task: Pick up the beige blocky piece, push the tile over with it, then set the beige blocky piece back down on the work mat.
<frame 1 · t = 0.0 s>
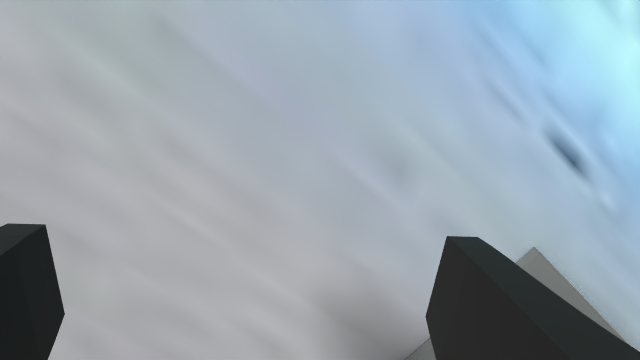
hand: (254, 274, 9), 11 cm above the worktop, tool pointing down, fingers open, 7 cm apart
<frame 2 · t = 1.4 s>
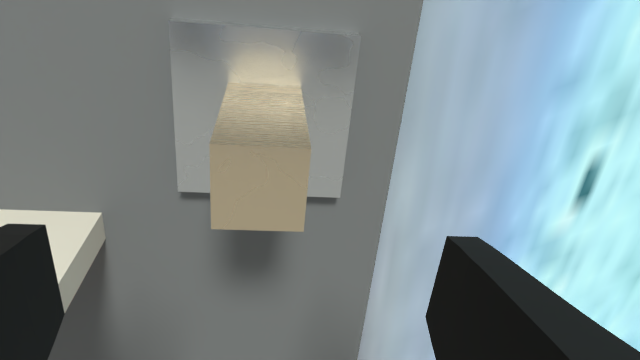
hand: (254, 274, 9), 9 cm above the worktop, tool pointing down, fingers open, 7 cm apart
beige blocky piece: (263, 112, 17), resting on work mat
work mat: (131, 198, 18), on the worktop
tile: (21, 223, 18), resting on work mat
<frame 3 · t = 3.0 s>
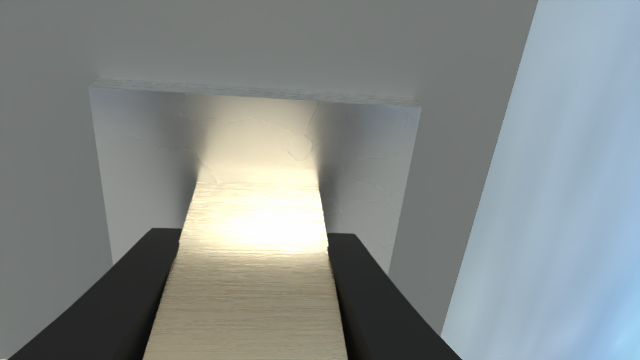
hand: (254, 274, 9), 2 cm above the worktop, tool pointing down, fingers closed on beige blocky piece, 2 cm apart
beige blocky piece: (257, 219, 10), resting on work mat, touching gripper
work mat: (58, 332, 12), on the worktop
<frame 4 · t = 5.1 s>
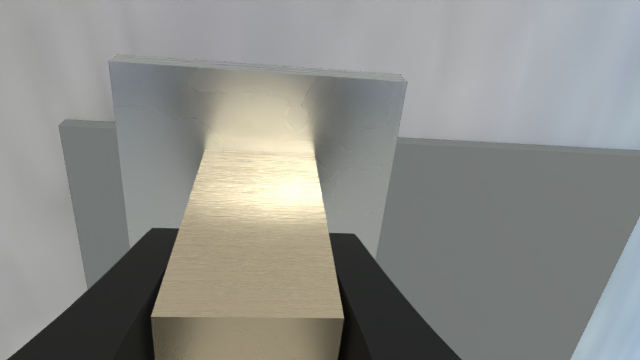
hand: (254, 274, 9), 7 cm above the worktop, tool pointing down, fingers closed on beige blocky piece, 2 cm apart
beige blocky piece: (259, 187, 11), point 4 cm above the worktop, touching gripper
work mat: (347, 351, 20), on the worktop
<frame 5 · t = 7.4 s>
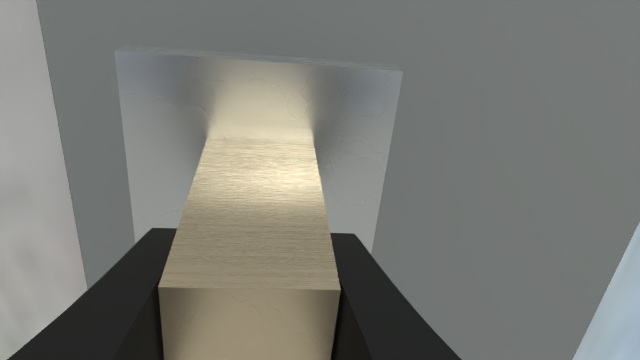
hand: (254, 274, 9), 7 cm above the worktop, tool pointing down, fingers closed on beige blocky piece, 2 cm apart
beige blocky piece: (260, 175, 12), point 4 cm above the worktop, touching gripper
work mat: (380, 164, 16), on the worktop
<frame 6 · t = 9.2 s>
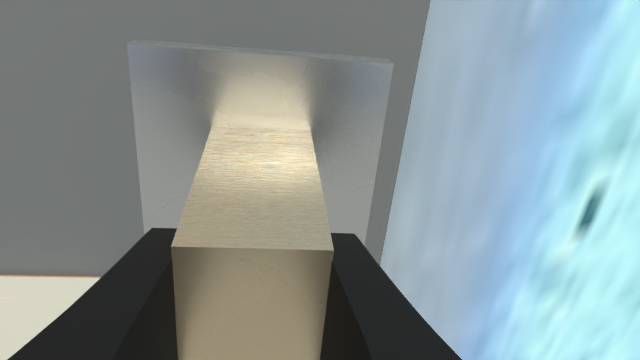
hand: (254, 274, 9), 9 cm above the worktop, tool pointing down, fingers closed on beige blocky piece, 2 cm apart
beige blocky piece: (260, 163, 12), point 4 cm above the worktop, touching gripper
work mat: (128, 229, 18), on the worktop
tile: (10, 287, 17), point 1 cm above the worktop, tilted 90°, touching work mat
when the fingers open (3 cm above the worktop, at t = 10.3 s): beige blocky piece stays where it is, resting on work mat.
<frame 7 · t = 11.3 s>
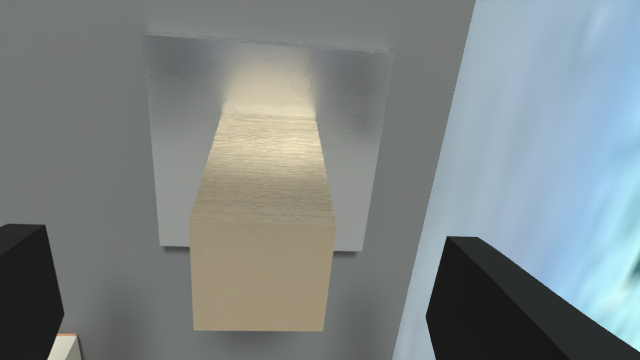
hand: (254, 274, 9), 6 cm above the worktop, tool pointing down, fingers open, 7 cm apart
beige blocky piece: (267, 148, 13), resting on work mat
work mat: (108, 279, 15), on the worktop
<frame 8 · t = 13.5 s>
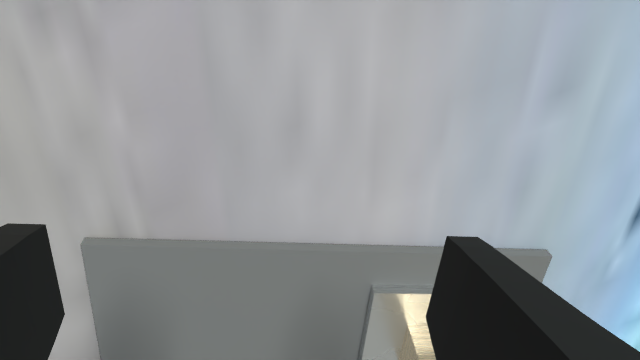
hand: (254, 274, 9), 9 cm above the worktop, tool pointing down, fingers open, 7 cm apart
beige blocky piece: (423, 333, 22), resting on work mat
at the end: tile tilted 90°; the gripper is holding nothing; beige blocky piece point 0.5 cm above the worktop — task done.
